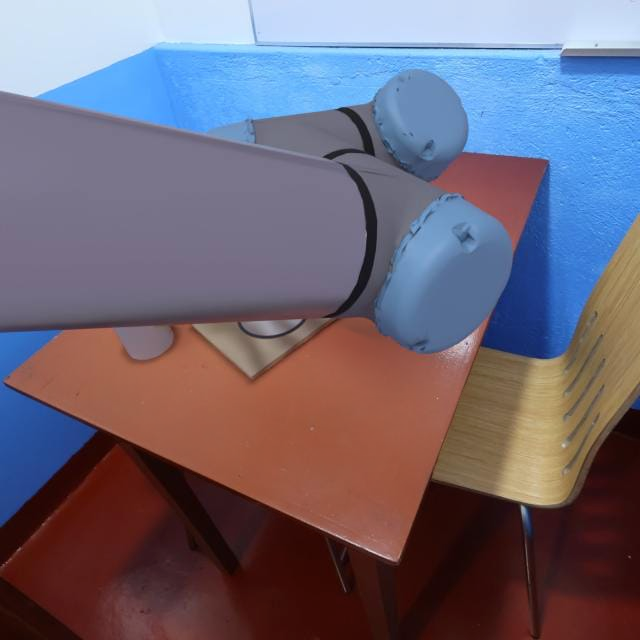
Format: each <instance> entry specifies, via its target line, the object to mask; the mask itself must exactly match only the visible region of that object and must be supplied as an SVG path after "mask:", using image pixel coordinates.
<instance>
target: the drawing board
mask: <svg viewBox="0 0 640 640" xmlns="http://www.w3.org/2000/svg"><path fill="white" fill-rule="evenodd" d="M337 319H338V318H316V319H294V320H272V321H250V322H228V323H206V324H191V326H192V328H193V329H194V330H195V331H196V333H198V334H199V335H200V336H201V337H202V338H203V339H205V340H206V342H208V343H209V344H210V345H211V346H212V347H214V349H216V350H217V351H218V352H219V353H220V354H221V355H222V356H223V357H225V358H226V359H227V360H228V361H229V362H230V363H231V364H232V365H234V366H235V367H236V368H237V369H238V370H239V371H240V372H241V373H243V374H244V375H245V376H246V377H247V378H249V380H250V381H252V382H254V380H255V379H257V378H259V377H260V376H261V375H263V374H264V373H265V372H267V371H268V370H270V369H271V368H272V367H274V366H275V365H276V364H278V363H279V362H281V361H282V360H283V359H284V358H286V357H287V356H288V355H290V354H292V353H293V352H294V351H295V350H297V349H298V348H299V347H301V346H302V345H304V343H306V342H307V341H309V340H310V339H311V338H312V337H314V336H316V335H317V334H318V333H320V332H321V331H322V330H323V329H325V328H326V327H328V326H329V325H331V324H332V323H333V322H334V321H336V320H337Z"/></svg>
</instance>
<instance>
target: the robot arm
mask: <svg viewBox="0 0 640 640" xmlns="http://www.w3.org/2000/svg"><path fill="white" fill-rule="evenodd" d="M469 125H470V124H469V118H468V114H467V112H466V110H465V108H464V107H463V105H462V100H461V97H460V96H459V94H458V93H457V92H456V90H455V89H454V88H453V87H452V86H451V85H450V84H449V83H448V82H447V81H446V80H444V79H443V78H442V77H440V76H439V75H436V74H435V73H433V72H431V71H429V70H425V69H421V68H409V69H405V70H404V69H403V70H402V71H400V72H398V73H396V74H395V75H393V76H392V77H391V78H390V79H389V80H388V81H387V82H386V83H385V84H384V85H383V86H382V87H380V88H379V89H378V91H377V92H375V94H374V96H373V98H372V100H371V101H369V102H367V103H362V104H355V105H347V106H340V107H338V108H333V109H327V110H326V109H325V110H319V111H318V110H317V111H311V112H304V113H296V114H295V113H294V114H287V115H279V116H272V117H264V118H257V119H253V118H252V117H247V118H246V119H244V120H242V121H237V122H233V123H229V124H228V123H227V124H224V125H219V126H215V127H212V128H210V129H208V130H207V131H206V132H201V131H196V130H191V129H186V128H181V127H177V126H173V125H168V124H163V123H158V122H153V121H147V120H143V119H139V118H134V117H129V116H124V115H120V114H116V113H115V114H114V113H110V112H105V111H100V110H95V109H91V108H86V107H81V106H76V105H72V104H66V103H62V102H57V101H52V100H49V99H44V98H38V97H32V96H28V95H24V94H20V93H19V94H18V93H15V92H14V93H13V92H9V91H3V90H0V334H7V333H8V334H9V333H29V332H51V331H53V332H54V331H72V330H73V331H75V330H95V329H113V328H119V327H141V326H163V325H170V326H181V325H192V324H206V323H228V322H250V321H272V320H294V319H316V318H337V319H351V318H355V319H356V318H361V319H365V320H369V321H370V322H372V323H373V324H374V325H375V329H376V330H377V332H378V333H379V334H380V335H381V336H383V337H389V338H391V339H392V340H393V341H395V342H396V343H397V344H398V345H400V346H401V347H402V348H403V349H406V350H408V351H409V352H414V353H416V354H419V355H431V354H437V353H441V352H444V351H446V350H448V349H451V348H453V347H455V346H456V345H458V344H460V343H461V342H463V341H464V340H465V339H467V338H468V337H470V335H472V334H473V333H475V331H476V330H477V329H478V328H479V327H480V326H481V325H482V324H483V323H484V322H485V321H486V320H487V319H488V317H489V316H490V315H491V313H492V312H493V310H494V309H495V308H496V306H497V305H498V301H499V299H500V297H501V296H502V294H503V292H504V290H505V289H506V287H507V285H508V281H509V279H510V276H511V272H512V267H513V259H514V250H513V243H512V240H511V236H510V233H509V232H508V230H507V229H506V227H505V226H504V225H503V223H502V222H501V221H499V220H498V219H497V218H496V217H494V216H492V215H490V214H489V213H487V212H485V211H484V210H482V209H481V208H479V207H477V206H476V205H474V204H473V203H471V202H469V201H468V200H466V197H465V196H464V195H463V194H460V193H457V192H453V193H451V192H449V191H447V190H445V189H443V188H441V187H438V186H437V185H434V184H432V183H430V182H433V181H436V180H437V179H438V178H439V177H441V175H442V174H443V172H444V171H445V170H446V169H447V168H449V166H450V165H451V164H452V163H453V162H455V160H456V159H457V158H458V157H459V156H460V155H461V154H462V152H463V151H464V149H465V147H466V145H467V143H468V138H469V128H470V127H469Z"/></svg>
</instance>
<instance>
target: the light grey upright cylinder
mask: <svg viewBox="0 0 640 640" xmlns="http://www.w3.org/2000/svg"><path fill="white" fill-rule="evenodd" d="M112 329H113V331H114V332H115V334H116V337H118V339H119V340H120V342H121V344H122V346H123V348H124V349H125V350H126V352H127V354H128V356H129V357H130V358H131V359H135V360H136V361H147V360H152V359H155V358H157V357H159V356H161V355H163V354H164V353H165V352H166V351H168V350H169V348H170V347H171V346H172V344H173V343H174V340H175V333H174V331H173V329H172V327H171V325H163V326H141V327H119V328H112Z"/></svg>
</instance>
